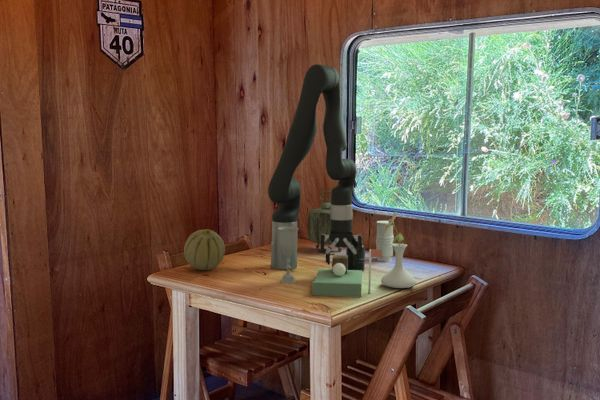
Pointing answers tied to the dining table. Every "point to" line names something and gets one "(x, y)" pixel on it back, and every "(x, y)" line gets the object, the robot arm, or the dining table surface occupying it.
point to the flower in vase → (397, 264)
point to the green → (337, 283)
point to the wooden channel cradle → (340, 261)
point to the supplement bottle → (360, 257)
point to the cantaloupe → (204, 249)
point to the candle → (384, 241)
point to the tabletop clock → (320, 222)
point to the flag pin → (371, 254)
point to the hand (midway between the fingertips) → (341, 264)
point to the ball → (339, 269)
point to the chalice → (288, 249)
